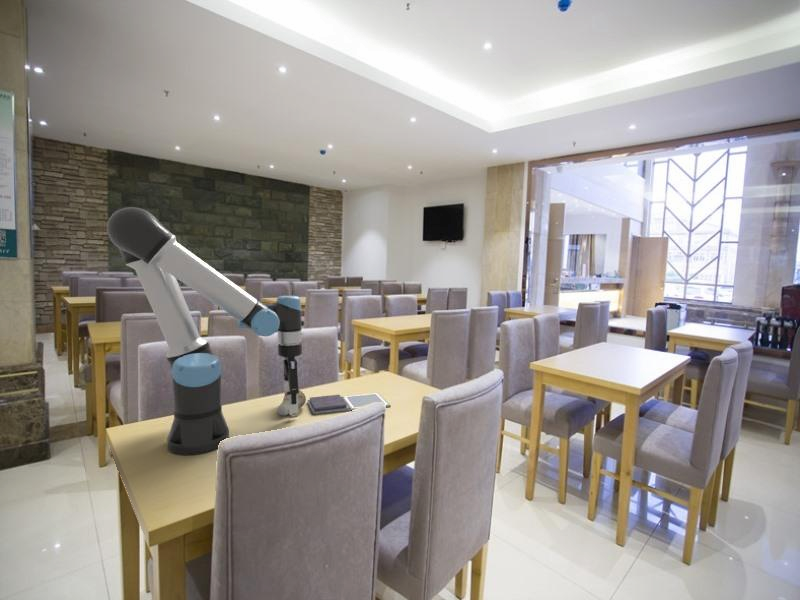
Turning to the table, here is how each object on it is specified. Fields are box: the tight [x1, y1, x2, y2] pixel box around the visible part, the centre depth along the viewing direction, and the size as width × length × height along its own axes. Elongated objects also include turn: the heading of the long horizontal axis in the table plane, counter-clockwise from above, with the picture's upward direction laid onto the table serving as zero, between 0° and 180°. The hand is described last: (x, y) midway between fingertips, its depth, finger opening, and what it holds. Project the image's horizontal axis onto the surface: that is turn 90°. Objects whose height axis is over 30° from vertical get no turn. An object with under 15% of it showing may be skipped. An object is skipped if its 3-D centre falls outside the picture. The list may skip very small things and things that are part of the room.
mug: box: [277, 389, 307, 418], centre depth 136 cm, size 8×10×10 cm
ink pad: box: [306, 394, 350, 415], centre depth 141 cm, size 12×12×2 cm
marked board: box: [340, 392, 391, 411], centre depth 146 cm, size 14×14×1 cm
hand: (291, 406), depth 136 cm, fingers open, 13 cm apart
